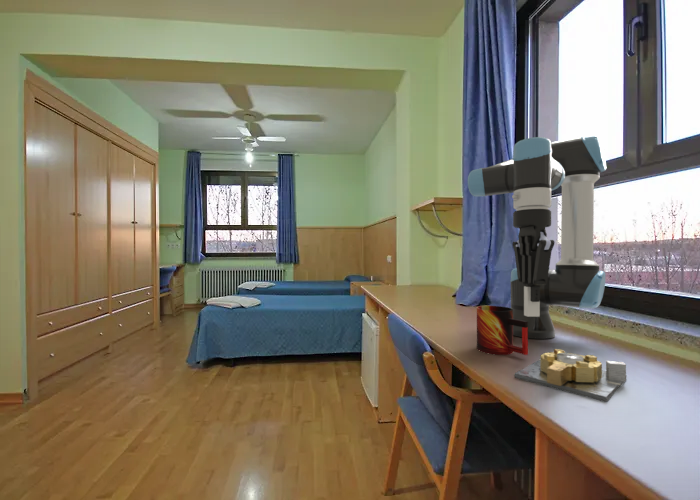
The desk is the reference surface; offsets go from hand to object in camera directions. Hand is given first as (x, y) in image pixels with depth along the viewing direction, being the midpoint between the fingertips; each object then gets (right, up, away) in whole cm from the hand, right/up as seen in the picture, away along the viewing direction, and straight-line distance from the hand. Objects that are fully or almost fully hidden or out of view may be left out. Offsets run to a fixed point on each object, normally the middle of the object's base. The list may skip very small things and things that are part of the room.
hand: (531, 315), depth 77 cm
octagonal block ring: (+7, -13, -1) cm, 15 cm away
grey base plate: (+9, -14, 0) cm, 17 cm away
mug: (+3, -14, +22) cm, 26 cm away
